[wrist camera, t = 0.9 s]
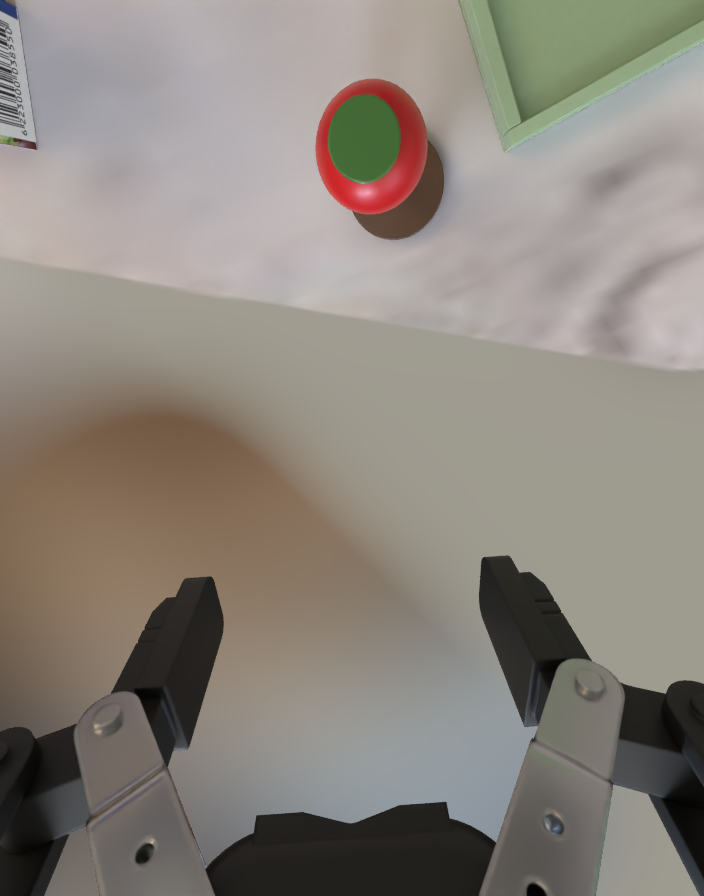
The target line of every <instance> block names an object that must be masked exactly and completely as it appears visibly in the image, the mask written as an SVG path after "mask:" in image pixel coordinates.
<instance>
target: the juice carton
mask: <svg viewBox="0 0 704 896" xmlns="http://www.w3.org/2000/svg"><path fill="white" fill-rule="evenodd" d="M0 143H2V144H7V145H13V146H18V147H24V148H29V149H35V150H38V149H37V142H36V135H35V128H34V121H33V115H32V108H31V101H30V94H29V87H28V80H27V73H26V66H25V60H24V53H23V46H22V39H21V32H20V25H19V18H18V11H17V7H15V6H13V5H11V4H9V3H7V2H6V1H4V0H0Z"/></svg>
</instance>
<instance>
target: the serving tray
mask: <svg viewBox="0 0 704 896" xmlns="http://www.w3.org/2000/svg"><path fill="white" fill-rule="evenodd" d="M459 3H460V6H461V9H462V13H463V16H464V19H465V23H466V26H467V29H468V33H469V36H470V39H471V42H472V46H473V49H474V52H475V56H476V59H477V62H478V66H479V69H480V72H481V76H482V79H483V82H484V86H485V89H486V92H487V95H488V99H489V102H490V105H491V109H492V112H493V115H494V119H495V122H496V125H497V129H498V132H499V135H500V139H501V142H502V145H503V148H504V152H507V151H509V150H511V149H512V148H514V147H516V146H518V145H520V144H521V143H523V142H525V141H527V140H529V139H530V138H532V137H534V136H536V135H538V134H539V133H541V132H543V131H545V130H547V129H548V128H550V127H552V126H554V125H556V124H557V123H559V122H561V121H563V120H565V119H566V118H568V117H570V116H572V115H574V114H575V113H577V112H579V111H581V110H583V109H584V108H586V107H588V106H590V105H592V104H593V103H595V102H597V101H599V100H601V99H602V98H604V97H606V96H608V95H610V94H611V93H613V92H615V91H617V90H619V89H620V88H622V87H624V86H626V85H628V84H629V83H631V82H633V81H635V80H637V79H638V78H640V77H642V76H644V75H646V74H647V73H649V72H651V71H653V70H655V69H656V68H658V67H660V66H662V65H664V64H665V63H667V62H669V61H671V60H673V59H674V58H676V57H678V56H680V55H682V54H683V53H685V52H687V51H689V50H691V49H692V48H694V47H696V46H698V45H700V44H702V43H703V42H704V0H459Z"/></svg>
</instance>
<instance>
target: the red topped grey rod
mask: <svg viewBox="0 0 704 896" xmlns="http://www.w3.org/2000/svg"><path fill="white" fill-rule="evenodd" d="M316 159H317V166H318V170H319V173H320V176H321V178H322V181H323V183H324V185H325V187H326V188H327V190H328V191H329V193H330V194H331V195H332V196H333V197H334V198H335V199H336V200H337V201H338V202H339V203H340V204H341V205H343V206H344V207H346V208H347V209H350V210H352V211H353V213H354V215H355V217H356V219H357V220H358V222H359V223H360V224H361V225H362V226H363V227H364V228H365V229H366V230H367V231H368V232H370V233H371V234H373V235H375V236H377V237H380V238H383V239H389V240H397V239H403V238H406V237H409V236H411V235H414V234H415V233H417V232H419V231H420V230H421V229H422V228H424V227H425V226H426V225H427V224H428V223H429V221H430V220H431V219H432V217H433V216H434V214H435V213H436V211H437V209H438V207H439V204H440V201H441V198H442V194H443V187H444V174H443V168H442V164H441V160H440V158H439V156H438V153H437V152H436V150H435V148H434V147H433V146H432V144H431V143H430V142H429V141H428V140H427V132H426V127H425V123H424V120H423V117H422V115H421V112H420V110H419V108H418V107H417V105H416V103H415V102H414V100H413V99H412V98H411V97H410V96H409V95H408V94H407V93H406V92H405V91H404V90H403V89H401V88H400V87H399V86H397V85H395V84H393V83H391V82H388V81H385V80H380V79H365V80H361V81H357V82H355V83H352V84H350V85H349V86H347V87H345V88H344V89H343V90H341V91H340V92H339V93H338V94H337V95H336V96H335V97H334V98H333V99H332V101H331V102H330V103H329V105H328V106H327V108H326V110H325V111H324V113H323V116H322V118H321V120H320V123H319V127H318V131H317V136H316Z"/></svg>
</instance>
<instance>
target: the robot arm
mask: <svg viewBox="0 0 704 896" xmlns="http://www.w3.org/2000/svg"><path fill="white" fill-rule="evenodd" d="M479 604H480V611H481V615H482V618H483V621H484V624H485V626H486V629H487V631H488V634H489V637H490V639H491V642H492V644H493V647H494V649H495V652H496V655H497V657H498V660H499V662H500V665H501V668H502V670H503V673H504V675H505V678H506V680H507V683H508V686H509V688H510V691H511V694H512V696H513V699H514V701H515V704H516V706H517V709H518V712H519V714H520V717H521V719H522V722H523V724H524V727H529V726H538V729H537V731H536V734H535V737H534V739H533V738H532V740H531V741H530V744H529V747H528V749H527V752H526V755H525V758H524V762H523V764H522V767H521V770H520V773H519V776H518V779H517V782H516V785H515V788H514V792H513V794H512V797H511V800H510V803H509V806H508V809H507V812H506V815H505V818H504V821H503V824H502V827H501V830H500V833H499V836H498V839H497V842H495V841H493V840H492V839H491V838H489V837H488V836H487V835H485V834H484V833H483V832H481V831H479V830H477V829H476V828H474V827H472V826H470V825H467V824H465V823H463V822H460V821H457V820H454V819H450V818H449V814H448V808H447V803H446V802H439V803H425V804H411V805H399V806H397V807H394V808H391V809H389V810H386V811H384V812H381V813H379V814H376V815H374V816H371V817H369V818H366V819H364V820H361V821H359V822H357V823H351V824H350V823H344V822H340V821H336V820H332V819H328V818H324V817H320V816H316V815H312V814H308V813H304V812H299V813H285V814H271V815H258V816H256V822H255V829H254V833H253V834H250V835H248V836H246V837H244V838H242V839H240V840H239V841H237V842H235V843H234V844H232V845H231V846H230V847H228V848H227V849H225V850H224V851H223V852H222V853H221V854H220V855H219V856H217V857H216V858H215V859H214V860H213V861H212V862H211V863H210V864H209V865H208V867H207V866H206V864H205V861H204V858H203V856H202V854H201V851H200V848H199V846H198V843H197V841H196V838H195V836H194V833H193V831H192V828H191V826H190V823H189V821H188V818H187V815H186V813H185V811H184V808H183V805H182V803H181V800H180V798H179V795H178V792H177V790H176V787H175V785H174V782H173V780H172V777H171V774H170V772H169V770H168V764H169V761H170V758H171V755H172V752H173V751H175V750H188V749H189V746H190V743H191V739H192V736H193V733H194V729H195V726H196V722H197V719H198V716H199V712H200V709H201V706H202V702H203V699H204V696H205V692H206V689H207V686H208V682H209V679H210V676H211V672H212V669H213V666H214V662H215V659H216V656H217V652H218V649H219V645H220V642H221V639H222V635H223V627H224V621H223V613H222V609H221V606H220V602H219V598H218V594H217V590H216V586H215V582H214V580H213V578H212V577H199V578H186V579H184V581H183V582H182V584H181V587H180V589H179V591H178V593H177V595H176V597H171V598H166V599H165V600H164V601H163V602H162V603H161V604H160V605H159V606H158V607H157V608H156V609H155V610H154V611H153V612H152V614H151V616H150V618H149V620H148V622H147V624H146V626H145V630H144V631H143V632H142V634H141V636H140V638H139V640H138V643H137V644H136V645H135V647H134V650H133V651H132V653H131V655H130V657H129V659H128V661H127V663H126V665H125V667H124V669H123V671H122V673H121V675H120V677H119V679H118V681H117V683H116V685H115V687H114V689H113V691H112V692H111V694H110V695H107V696H105V697H103V698H101V699H100V700H98V701H97V702H95V703H94V704H93V705H92V706H90V707H89V708H88V709H87V710H86V712H85V713H84V714H83V715H82V717H81V718H80V719H79V721H78V723H77V724H74V725H72V726H70V727H67V728H64V729H61V730H59V731H56V732H53V733H50V734H48V735H45V736H42V737H40V738H37V739H35V737H34V736H33V734H32V732H31V731H30V730H29V729H26V728H22V727H14V728H9V729H6V730H4V731H1V732H0V896H44V895H45V892H46V890H47V887H48V885H49V882H50V880H51V878H52V875H53V873H54V870H55V868H56V866H57V863H58V861H59V858H60V856H61V853H62V851H63V848H64V846H65V844H66V841H67V839H68V836H69V834H70V833H71V832H73V831H75V830H78V829H80V828H83V827H85V826H86V831H87V837H88V842H89V847H90V852H91V857H92V862H93V867H94V872H95V877H96V881H97V887H98V892H99V896H596V891H597V884H598V878H599V871H600V866H601V859H602V853H603V846H604V841H605V834H606V828H607V821H608V816H609V810H610V804H611V797H612V790H613V784H614V785H618V786H622V787H625V788H629V789H633V790H636V791H640V792H644V793H647V794H648V795H649V797H650V799H651V801H652V803H653V805H654V807H655V809H656V811H657V813H658V815H659V817H660V819H661V821H662V822H663V824H664V827H665V828H666V830H667V832H668V834H669V836H670V838H671V840H672V842H673V844H674V846H675V848H676V850H677V852H678V854H679V856H680V858H681V860H682V862H683V864H684V866H685V868H686V870H687V872H688V874H689V876H690V878H691V880H692V881H693V884H694V885H695V887H696V889H697V891H698V893H699V895H700V896H704V684H702V683H699V682H695V681H686V680H685V681H678V682H675V683H673V684H671V685H670V686H669V688H668V690H667V692H666V694H664V693H660V692H655V691H650V690H645V689H641V688H636V687H632V686H628V685H625V684H622V683H620V682H619V681H618V679H617V678H616V677H615V676H614V675H613V674H612V673H611V672H610V671H609V670H607V669H606V668H605V667H603V666H601V665H599V664H597V663H595V662H592V660H591V659H590V657H589V656H588V654H587V653H586V651H585V649H584V647H583V646H582V644H581V643H580V641H579V639H578V638H577V636H576V634H575V633H574V631H573V630H572V628H571V626H570V625H569V623H568V621H567V620H566V618H565V616H564V615H563V614H562V613H561V610H560V608H559V607H558V605H557V603H556V602H555V601H554V598H553V597H552V595H551V593H550V592H549V590H548V589H547V587H546V585H545V584H544V583H543V582H542V581H540V580H539V579H538V578H537V577H536V576H534V575H533V574H532V573H530V572H523V573H519V571H518V570H517V568H516V566H515V564H514V562H513V561H512V559H511V558H510V556H496V557H495V556H494V557H483V558H482V561H481V576H480V589H479Z"/></svg>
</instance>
